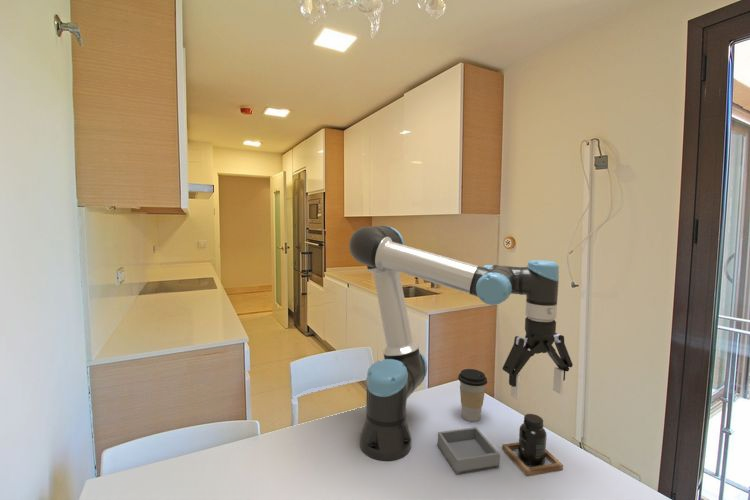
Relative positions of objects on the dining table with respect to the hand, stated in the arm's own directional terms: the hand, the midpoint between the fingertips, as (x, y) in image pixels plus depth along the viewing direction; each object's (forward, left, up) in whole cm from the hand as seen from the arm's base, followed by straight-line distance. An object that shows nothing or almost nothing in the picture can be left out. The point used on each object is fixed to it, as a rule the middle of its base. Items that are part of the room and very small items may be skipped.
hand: (536, 394), depth 97 cm
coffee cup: (-23, -6, -19) cm, 31 cm away
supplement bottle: (0, 0, -19) cm, 19 cm away
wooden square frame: (0, 0, -19) cm, 19 cm away
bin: (-5, -17, -19) cm, 26 cm away
